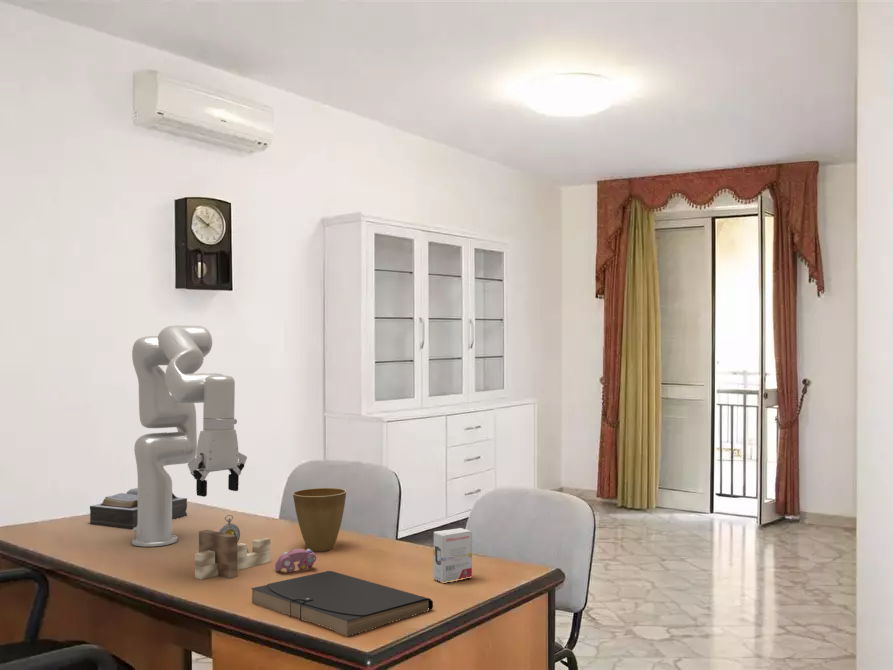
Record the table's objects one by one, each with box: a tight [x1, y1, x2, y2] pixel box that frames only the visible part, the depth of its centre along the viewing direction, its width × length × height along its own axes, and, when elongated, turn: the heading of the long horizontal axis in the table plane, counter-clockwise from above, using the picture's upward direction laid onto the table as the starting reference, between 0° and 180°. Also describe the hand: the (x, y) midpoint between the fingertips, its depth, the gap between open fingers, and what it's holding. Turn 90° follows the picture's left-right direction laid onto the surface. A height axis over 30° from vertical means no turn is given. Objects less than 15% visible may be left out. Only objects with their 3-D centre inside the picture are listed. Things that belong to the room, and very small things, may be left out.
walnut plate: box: [198, 529, 238, 580], centre depth 212 cm, size 12×2×10 cm, turn 53°
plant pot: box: [292, 487, 347, 552], centre depth 240 cm, size 15×15×16 cm
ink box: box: [432, 527, 473, 582], centre depth 207 cm, size 9×5×12 cm, turn 123°
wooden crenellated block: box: [194, 537, 272, 580], centre depth 216 cm, size 22×2×6 cm, turn 143°
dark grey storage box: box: [89, 487, 188, 531], centre depth 279 cm, size 23×27×10 cm
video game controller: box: [274, 548, 317, 573], centre depth 215 cm, size 10×5×7 cm, turn 119°
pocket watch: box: [218, 514, 249, 553], centre depth 235 cm, size 8×8×10 cm
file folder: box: [250, 570, 434, 637], centre depth 185 cm, size 33×4×24 cm
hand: (217, 493), depth 213 cm, fingers open, 9 cm apart
